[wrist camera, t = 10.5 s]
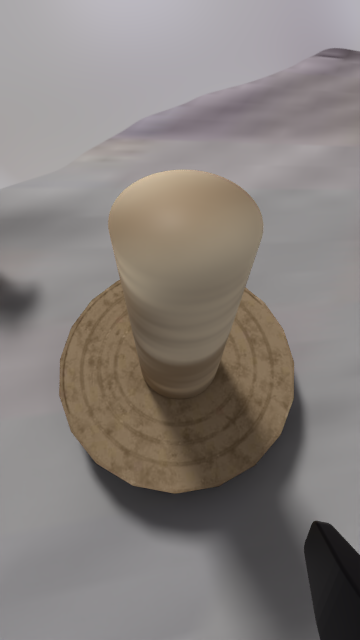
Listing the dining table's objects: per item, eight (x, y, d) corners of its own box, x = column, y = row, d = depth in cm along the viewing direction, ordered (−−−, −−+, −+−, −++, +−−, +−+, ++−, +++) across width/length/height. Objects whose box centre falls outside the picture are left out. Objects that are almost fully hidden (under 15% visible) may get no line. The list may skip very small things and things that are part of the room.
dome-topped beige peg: (231, 378, 21) (294, 247, 10) (159, 413, 20) (144, 305, 9) (195, 317, 23) (215, 156, 13) (128, 344, 22) (87, 192, 11)
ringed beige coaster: (318, 354, 25) (334, 339, 23) (203, 551, 19) (207, 562, 17) (159, 257, 30) (158, 234, 27) (26, 395, 24) (7, 384, 21)
